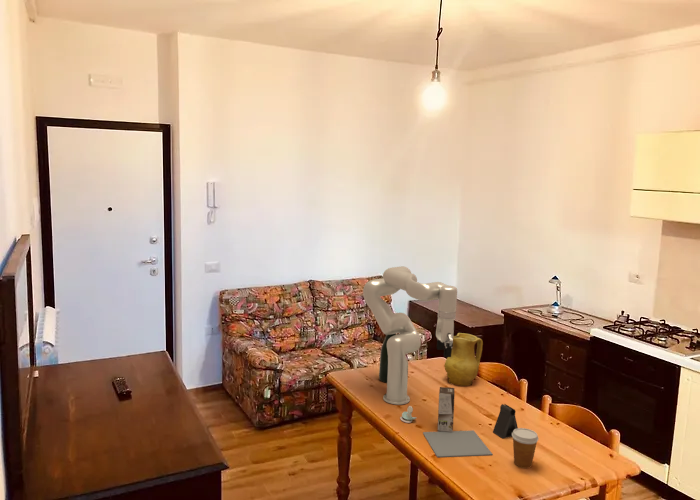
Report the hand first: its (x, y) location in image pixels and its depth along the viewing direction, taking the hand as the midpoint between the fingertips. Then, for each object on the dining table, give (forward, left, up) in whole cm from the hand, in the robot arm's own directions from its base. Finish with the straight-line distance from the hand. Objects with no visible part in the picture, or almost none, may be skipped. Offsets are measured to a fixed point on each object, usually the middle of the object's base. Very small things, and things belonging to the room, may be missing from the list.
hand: (443, 353), depth 239 cm
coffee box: (+9, 0, -30) cm, 31 cm away
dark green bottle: (-48, -12, -30) cm, 58 cm away
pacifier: (0, -15, -30) cm, 34 cm away
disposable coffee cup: (+40, +20, -30) cm, 54 cm away
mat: (+23, 0, -30) cm, 38 cm away
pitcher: (-43, +26, -30) cm, 59 cm away
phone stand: (+16, +24, -30) cm, 41 cm away
